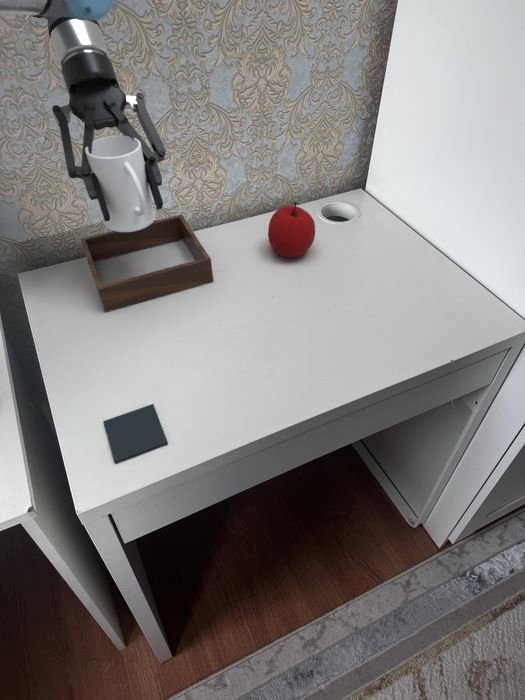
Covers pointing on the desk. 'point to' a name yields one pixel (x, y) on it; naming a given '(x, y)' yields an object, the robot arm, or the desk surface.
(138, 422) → the mat
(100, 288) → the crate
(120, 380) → the desk surface
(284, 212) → the apple
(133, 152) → the mug
